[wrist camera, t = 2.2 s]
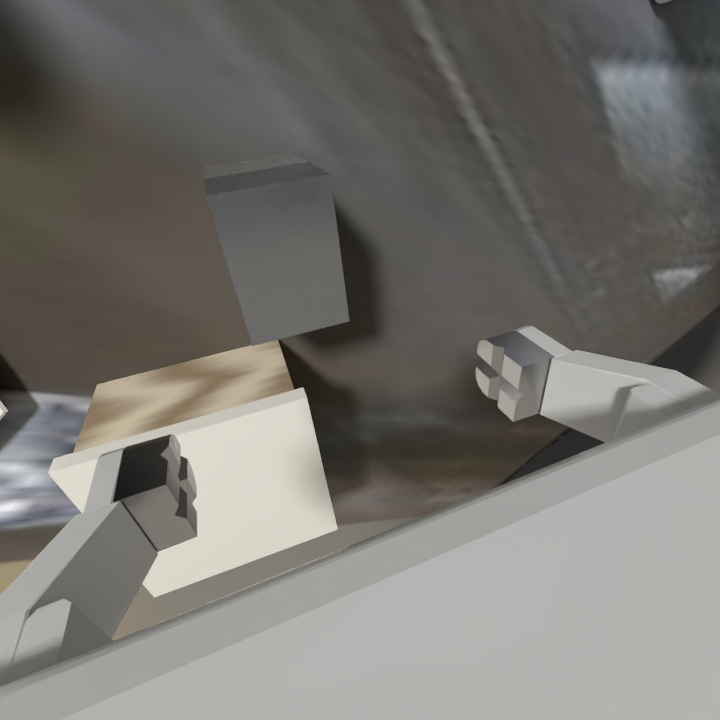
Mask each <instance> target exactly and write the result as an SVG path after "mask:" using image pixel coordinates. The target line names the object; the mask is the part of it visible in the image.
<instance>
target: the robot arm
mask: <svg viewBox="0 0 720 720" xmlns="http://www.w3.org/2000/svg"><path fill="white" fill-rule="evenodd" d="M655 1H656V2H657V3H661V4H663V3H667V2H670V1H672V0H655ZM477 354H478V355H479V357H480V358H481V360H480V362H479V363H478V365H477V366H476V379H477V382H478V386H479V387H480V389H481V391H482V392H483V393H484V394H485V395H486V396H487V397H488V398H491V399H494V400H497V402H498V408H499V409H500V410H501V411H502V412H503V413H504V414H505V415H506V416H507V417H509V418H510V419H511V420H512V421H513V422H514V421H517V420H520V419H523V418H526V417H529V416H532V415H535V414H538V413H540V415H542V416H545V417H547V418H549V419H552V420H554V421H556V422H559V423H561V424H563V425H566V426H568V427H570V428H573V429H575V430H578V431H580V432H582V433H584V434H587V435H589V436H591V437H594V438H596V439H599V440H601V441H603V442H605V443H604V444H602V445H599V446H596V447H594V448H591V449H589V450H587V451H584V452H582V453H579V454H577V455H574V456H572V457H569V458H567V459H564V460H562V461H559V462H557V463H554V464H552V465H549V466H547V467H544V468H542V469H539V470H537V471H534V472H532V473H529V474H527V475H525V476H522V477H520V478H517V479H515V480H512V481H510V482H507V483H505V484H502V485H500V486H497V487H495V488H492V489H490V490H487V491H485V492H482V493H480V494H477V495H475V496H472V497H470V498H467V499H465V500H462V501H460V502H458V503H455V504H453V505H450V506H448V507H445V508H443V509H440V510H438V511H435V512H433V513H430V514H428V515H425V516H423V517H420V518H418V519H415V520H413V521H410V522H408V523H405V524H403V525H400V526H398V527H395V528H393V529H390V530H388V531H386V532H383V533H381V534H378V535H376V536H373V537H371V538H368V539H366V540H363V541H361V542H358V543H356V544H353V545H351V546H348V547H346V548H343V549H341V550H338V551H336V552H333V553H331V554H328V555H326V556H324V557H321V558H318V559H316V560H313V561H311V562H308V563H306V564H304V565H301V566H299V567H296V568H294V569H291V570H289V571H286V572H284V573H281V574H279V575H276V576H274V577H271V578H269V579H266V580H264V581H262V582H259V583H256V584H254V585H251V586H249V587H246V588H244V589H242V590H239V591H236V592H234V593H231V594H229V595H227V596H224V597H222V598H219V599H217V600H214V601H212V602H209V603H207V604H205V605H202V606H199V607H197V608H194V609H192V610H189V611H187V612H184V613H182V614H179V615H177V616H174V617H172V618H170V619H167V620H164V621H162V622H160V623H157V624H155V625H152V626H150V627H147V628H145V629H142V630H140V631H137V632H135V633H132V634H130V635H127V636H125V637H122V638H120V639H117V640H115V641H113V640H112V637H113V635H114V633H115V632H116V630H117V628H118V626H119V624H120V623H121V621H122V619H123V617H124V615H125V613H126V612H127V610H128V608H129V606H130V605H131V603H132V601H133V599H134V597H135V595H136V593H137V592H138V590H139V588H140V586H141V585H142V583H143V581H144V579H145V577H146V576H147V574H148V572H149V570H150V568H151V566H152V565H153V563H154V561H155V559H156V557H157V556H158V553H157V552H159V551H162V550H164V549H167V548H170V547H172V546H175V545H177V544H180V543H182V542H185V541H187V540H190V539H193V538H195V537H197V511H196V509H195V507H194V506H193V504H192V503H193V501H194V500H195V498H196V497H197V488H196V482H195V476H194V473H193V470H192V467H191V465H190V463H189V461H188V459H187V458H184V457H182V456H181V445H180V444H179V442H178V440H177V438H176V437H175V435H173V434H170V435H166V436H162V437H159V438H155V439H152V440H148V441H145V442H141V443H137V444H134V445H130V446H127V447H125V448H120V449H117V450H114V451H110V452H107V453H103V454H102V455H101V456H100V457H99V458H98V459H97V463H96V467H95V471H94V474H93V478H92V482H91V485H90V489H89V493H88V496H87V500H86V504H85V507H84V511H83V513H81V514H78V515H75V516H74V517H73V519H72V520H71V521H70V522H69V523H68V524H67V525H66V526H65V527H64V528H63V529H62V530H61V531H60V532H59V533H58V535H57V536H56V537H55V538H54V539H53V540H52V541H51V542H50V543H49V544H48V545H47V546H46V547H45V548H44V550H43V551H42V552H41V553H40V554H39V555H38V556H37V557H36V558H35V559H34V560H33V561H32V562H31V563H30V565H29V566H28V567H27V568H26V569H25V570H24V571H23V572H22V573H21V574H20V575H19V576H18V577H17V578H16V579H15V580H14V582H13V583H12V584H11V585H10V586H9V587H8V588H7V589H6V590H5V591H4V592H3V593H2V594H1V596H0V720H720V394H718V393H716V392H714V391H713V390H711V389H709V388H707V387H705V386H703V385H702V384H700V383H698V382H696V381H694V380H692V379H691V378H689V377H687V376H685V375H683V374H681V373H680V372H678V371H675V370H670V369H665V368H661V367H656V366H651V365H646V364H641V363H637V362H632V361H627V360H622V359H617V358H613V357H608V356H603V355H598V354H593V353H588V352H584V351H579V350H576V351H573V352H572V351H571V350H569V349H568V348H566V347H564V346H563V345H561V344H560V343H558V342H557V341H555V340H553V339H552V338H550V337H549V336H547V335H545V334H544V333H542V332H541V331H539V330H538V329H536V328H534V327H533V326H524V327H521V328H518V329H515V330H512V331H511V332H507V333H504V334H501V335H498V336H494V337H491V338H488V339H485V340H481V341H480V343H479V345H478V350H477Z"/></svg>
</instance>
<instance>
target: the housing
mask: <svg viewBox="0 0 720 720" xmlns="http://www.w3.org/2000/svg"><path fill="white" fill-rule="evenodd" d="M204 172H205V184H206V196H207V199H208V202H209V206H210V209H211V212H212V215H213V219H214V222H215V225H216V228H217V232H218V235H219V238H220V241H221V245H222V248H223V251H224V255H225V258H226V261H227V264H228V268H229V271H230V274H231V277H232V281H233V284H234V287H235V290H236V294H237V297H238V300H239V303H240V307H241V310H242V313H243V317H244V320H245V323H246V326H247V330H248V333H249V336H250V339H251V343H252V346H255V345H259V344H263V343H267V342H271V341H275V340H279V339H282V338H286V337H290V336H294V335H298V334H302V333H306V332H310V331H314V330H318V329H321V328H325V327H329V326H333V325H337V324H341V323H345V322H349V313H348V306H347V298H346V290H345V283H344V275H343V267H342V260H341V252H340V244H339V237H338V229H337V221H336V214H335V206H334V199H333V191H332V183H331V176H330V174H329V173H327V172H326V171H324V170H322V169H320V168H319V167H317V166H315V165H313V164H312V163H310V162H308V161H306V160H305V159H303V158H301V157H299V156H298V155H296V154H294V153H292V154H286V155H279V156H273V157H267V158H260V159H254V160H247V161H241V162H235V163H228V164H222V165H216V166H209V167H204Z"/></svg>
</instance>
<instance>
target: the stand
mask: <svg viewBox="0 0 720 720" xmlns="http://www.w3.org/2000/svg"><path fill="white" fill-rule="evenodd" d="M170 434H173V435H175V437H176V438H177V440H178V442H179V444H180V445H181V456H182V457H184V458H187V459H188V461H189V463H190V465H191V467H192V470H193V473H194V476H195V482H196V488H197V497H196V498H195V500H194V501H193V503H192V504H193V506H194V507H195V509H196V511H197V537H195V538H193V539H190V540H187V541H185V542H182V543H180V544H177V545H175V546H172V547H170V548H167V549H164V550H162V551H159V552H157V553H158V556H157V557H156V559H155V561H154V563H153V565H152V566H151V568H150V570H149V572H148V574H147V576H146V577H145V579H144V581H143V583H142V584H143V585H144V586H145V587H146V588H147V589H148V590H149V592H150V593H151V594H152V595H153V596H154V597H157V596H159V595H162V594H165V593H167V592H170V591H173V590H175V589H178V588H181V587H184V586H186V585H189V584H192V583H194V582H197V581H200V580H203V579H205V578H208V577H211V576H213V575H216V574H219V573H221V572H224V571H227V570H230V569H232V568H235V567H237V566H240V565H243V564H246V563H248V562H251V561H254V560H257V559H259V558H262V557H264V556H267V555H270V554H273V553H275V552H278V551H281V550H283V549H286V548H289V547H291V546H294V545H297V544H299V543H302V542H305V541H308V540H310V539H313V538H316V537H319V536H321V535H324V534H326V533H329V532H332V531H335V530H337V525H336V520H335V516H334V512H333V508H332V503H331V499H330V495H329V490H328V486H327V482H326V477H325V473H324V469H323V464H322V460H321V456H320V451H319V447H318V443H317V439H316V434H315V430H314V426H313V421H312V417H311V413H310V408H309V404H308V400H307V396H306V393H305V391H304V388H303V387H302V388H299V389H295V390H294V387H293V384H292V381H291V378H290V375H289V372H288V369H287V366H286V363H285V360H284V357H283V354H282V351H281V348H280V345H279V342H278V340H275V341H271V342H267V343H263V344H259V345H255V346H252V345H250V346H246V347H242V348H238V349H234V350H230V351H226V352H222V353H219V354H215V355H211V356H207V357H203V358H199V359H195V360H191V361H187V362H183V363H179V364H175V365H172V366H168V367H164V368H160V369H156V370H152V371H148V372H144V373H140V374H136V375H132V376H128V377H125V378H121V379H117V380H113V381H109V382H105V383H101V384H97V387H96V390H95V392H94V395H93V398H92V401H91V404H90V406H89V409H88V412H87V415H86V418H85V421H84V423H83V426H82V429H81V432H80V435H79V437H78V440H77V443H76V446H75V449H74V452H73V453H71V454H68V455H64V456H61V457H57V458H54V459H53V462H52V464H51V467H50V469H49V472H48V474H49V475H50V476H51V477H52V479H53V480H54V481H55V482H56V483H57V484H58V486H59V487H60V488H61V489H62V490H63V491H64V493H65V494H66V495H67V496H68V497H69V498H70V500H71V501H72V502H73V503H74V504H75V505H76V507H77V508H78V509H79V510H80V511H81V512H82V513H83V511H84V507H85V504H86V500H87V496H88V493H89V489H90V485H91V482H92V478H93V474H94V471H95V467H96V463H97V459H98V458H99V457H100V456H101V455H102V454H103V453H107V452H110V451H114V450H117V449H120V448H125V447H127V446H130V445H134V444H137V443H141V442H145V441H148V440H152V439H155V438H159V437H162V436H166V435H170Z"/></svg>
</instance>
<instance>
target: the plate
mask: <svg viewBox="0 0 720 720" xmlns="http://www.w3.org/2000/svg"><path fill="white" fill-rule="evenodd" d="M7 412H8V408H7V407H6V406H5V404H4V403H3V402H2V401H1V399H0V420H1V419H2V417H3V416H4V415H5V414H6V413H7Z"/></svg>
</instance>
